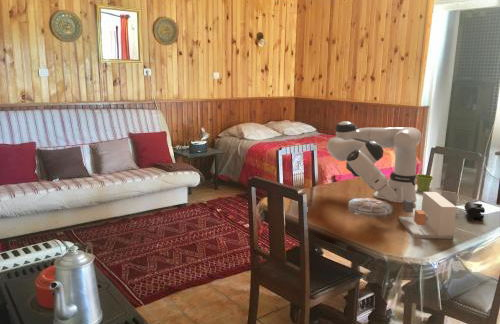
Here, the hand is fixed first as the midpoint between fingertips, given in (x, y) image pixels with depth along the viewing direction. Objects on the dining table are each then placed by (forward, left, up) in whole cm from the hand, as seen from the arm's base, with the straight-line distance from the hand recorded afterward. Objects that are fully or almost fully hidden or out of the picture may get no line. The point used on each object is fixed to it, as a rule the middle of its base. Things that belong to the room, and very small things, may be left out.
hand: (395, 200), depth 190 cm
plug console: (+14, -1, -10) cm, 17 cm away
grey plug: (+6, +4, -5) cm, 8 cm away
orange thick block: (+14, -10, -5) cm, 18 cm away
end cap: (+30, +29, -11) cm, 43 cm away
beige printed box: (+18, +33, -11) cm, 39 cm away
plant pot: (0, +65, -11) cm, 66 cm away
